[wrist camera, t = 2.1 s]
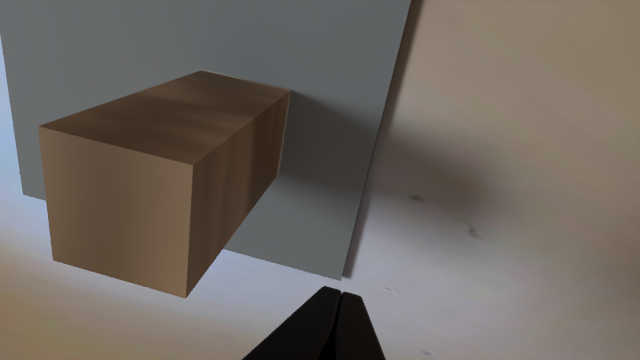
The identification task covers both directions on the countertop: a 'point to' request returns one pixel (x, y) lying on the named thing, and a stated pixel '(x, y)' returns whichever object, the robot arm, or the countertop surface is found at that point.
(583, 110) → the countertop surface
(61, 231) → the walnut block
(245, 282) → the countertop surface
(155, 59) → the mat
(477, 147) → the countertop surface
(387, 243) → the countertop surface
